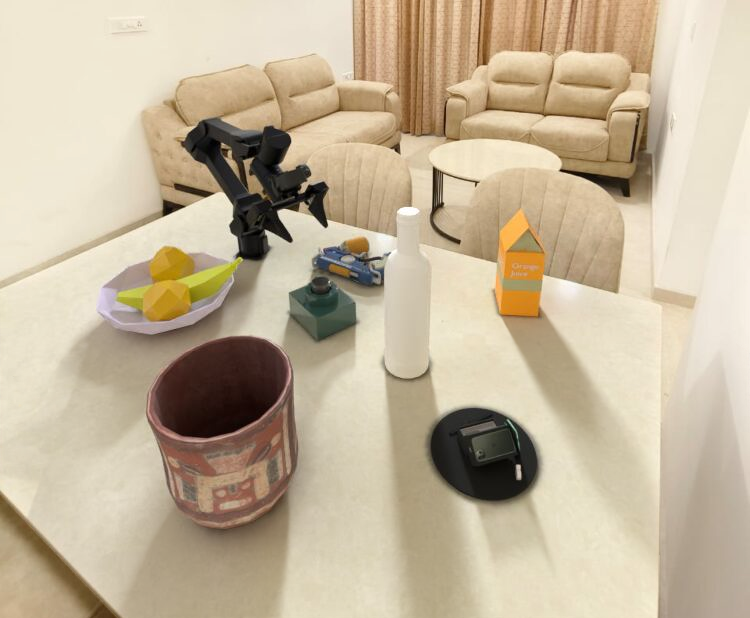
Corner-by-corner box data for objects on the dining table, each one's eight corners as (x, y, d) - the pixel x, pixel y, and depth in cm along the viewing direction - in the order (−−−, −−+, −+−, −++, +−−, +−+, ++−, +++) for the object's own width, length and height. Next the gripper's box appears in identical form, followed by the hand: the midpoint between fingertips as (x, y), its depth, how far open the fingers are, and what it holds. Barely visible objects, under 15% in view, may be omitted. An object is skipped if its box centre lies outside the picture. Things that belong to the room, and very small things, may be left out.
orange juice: (530, 291, 109) (540, 208, 102) (538, 316, 101) (550, 228, 94) (493, 289, 110) (501, 207, 103) (499, 314, 102) (507, 226, 94)
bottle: (426, 382, 85) (431, 224, 74) (380, 376, 86) (378, 220, 75) (430, 351, 92) (436, 202, 81) (388, 345, 93) (388, 199, 82)
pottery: (147, 483, 68) (121, 381, 62) (258, 410, 80) (246, 317, 73) (210, 587, 56) (185, 474, 50) (330, 484, 68) (323, 380, 61)
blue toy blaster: (341, 241, 131) (306, 268, 119) (341, 227, 129) (305, 253, 117) (412, 263, 121) (381, 295, 109) (413, 248, 120) (381, 279, 108)
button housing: (290, 312, 103) (287, 284, 101) (327, 297, 108) (325, 269, 106) (317, 341, 95) (315, 310, 92) (356, 322, 100) (355, 293, 97)
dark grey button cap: (308, 289, 99) (308, 280, 99) (324, 283, 101) (323, 274, 101) (318, 297, 97) (317, 288, 96) (333, 291, 99) (333, 281, 98)
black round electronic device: (457, 514, 64) (459, 484, 62) (415, 422, 77) (416, 394, 75) (558, 482, 68) (564, 453, 66) (502, 400, 81) (505, 373, 79)
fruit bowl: (70, 340, 96) (56, 290, 92) (159, 267, 120) (150, 225, 116) (200, 363, 90) (191, 310, 85) (266, 281, 114) (261, 237, 110)
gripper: (242, 165, 98) (283, 228, 93) (317, 144, 110) (357, 199, 105) (231, 198, 106) (268, 257, 101) (302, 175, 118) (338, 227, 113)
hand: (309, 234), depth 105 cm, fingers open, 9 cm apart
